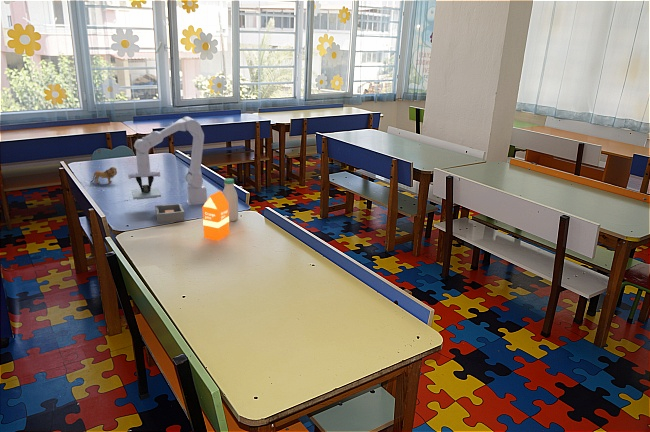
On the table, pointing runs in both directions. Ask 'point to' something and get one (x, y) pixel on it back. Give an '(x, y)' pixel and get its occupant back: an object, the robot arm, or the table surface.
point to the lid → (146, 193)
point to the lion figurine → (105, 174)
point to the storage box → (169, 213)
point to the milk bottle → (231, 199)
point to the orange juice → (216, 217)
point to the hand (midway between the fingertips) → (145, 191)
